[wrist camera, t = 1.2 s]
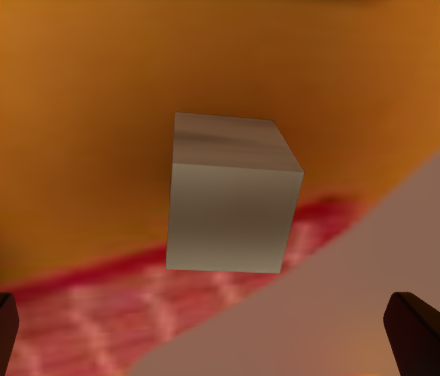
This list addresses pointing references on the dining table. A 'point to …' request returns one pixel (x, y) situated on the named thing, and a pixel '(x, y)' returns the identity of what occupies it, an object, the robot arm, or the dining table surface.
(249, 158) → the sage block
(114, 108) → the dining table surface
